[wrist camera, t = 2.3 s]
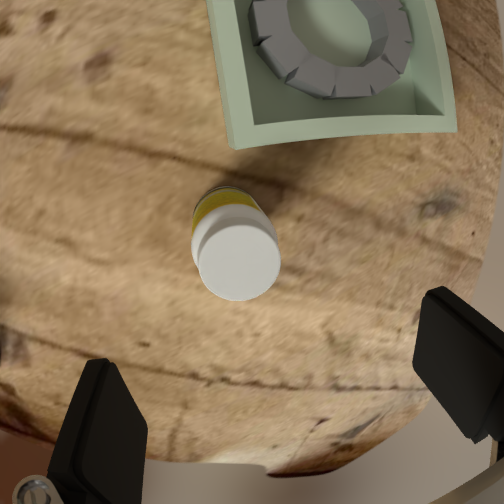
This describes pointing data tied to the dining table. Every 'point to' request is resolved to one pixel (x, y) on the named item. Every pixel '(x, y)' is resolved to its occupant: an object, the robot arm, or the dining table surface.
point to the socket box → (330, 69)
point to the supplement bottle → (234, 245)
